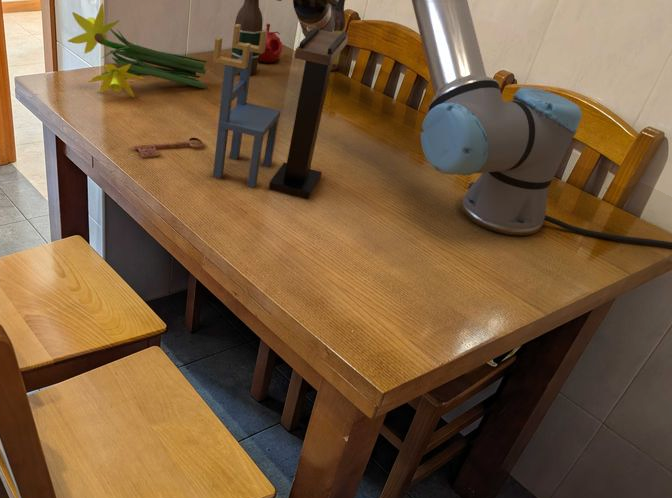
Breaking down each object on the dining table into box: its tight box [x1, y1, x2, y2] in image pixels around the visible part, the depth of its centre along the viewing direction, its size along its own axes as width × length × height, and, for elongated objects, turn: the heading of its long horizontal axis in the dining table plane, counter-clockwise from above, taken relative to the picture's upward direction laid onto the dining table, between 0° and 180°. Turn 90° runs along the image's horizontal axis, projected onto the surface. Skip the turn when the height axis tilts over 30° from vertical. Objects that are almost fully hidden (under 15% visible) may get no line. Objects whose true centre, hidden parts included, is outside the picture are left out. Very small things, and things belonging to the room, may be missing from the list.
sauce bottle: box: [331, 0, 346, 72], centre depth 178 cm, size 7×6×20 cm
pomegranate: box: [258, 23, 283, 63], centre depth 182 cm, size 10×10×9 cm
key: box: [133, 137, 204, 159], centre depth 134 cm, size 6×1×15 cm
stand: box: [268, 26, 349, 200], centre depth 119 cm, size 14×8×27 cm, turn 159°
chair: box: [212, 24, 282, 188], centre depth 122 cm, size 12×11×25 cm
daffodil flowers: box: [67, 3, 208, 98], centre depth 153 cm, size 17×15×35 cm
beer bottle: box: [230, 0, 264, 76], centre depth 168 cm, size 8×8×24 cm
